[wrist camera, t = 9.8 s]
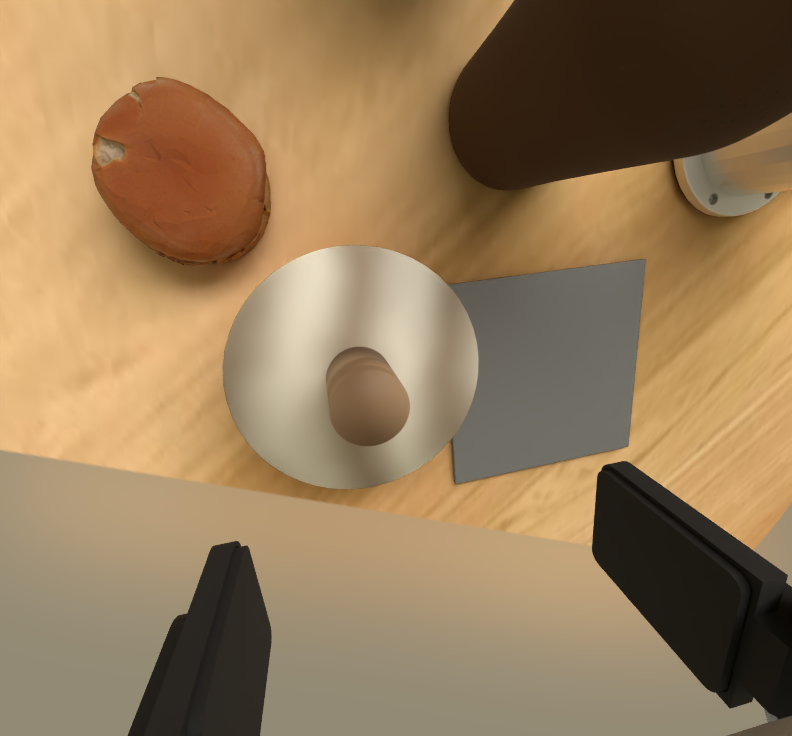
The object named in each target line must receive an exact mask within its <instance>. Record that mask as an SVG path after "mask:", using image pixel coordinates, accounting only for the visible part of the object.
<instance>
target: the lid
mask: <svg viewBox="0 0 792 736" xmlns="http://www.w3.org/2000/svg"><path fill="white" fill-rule="evenodd" d="M478 360H479V357H478V348H477V341H476V337H475V333H474V329H473V326H472V324H471V321H470V319H469V316H468V314H467V312H466V310H465V308H464V306H463V305H462V303H461V301H460V299H459V298H458V297H457V296H456V294H455V293H454V292H453V290H452V289H451V288H450V287H449V286H448V285H447V284H446V283H445V282H444V281H443V280H442V279H441V278H440V277H439V276H438V275H437V274H436V273H434V272H433V271H432V270H430V269H429V268H428V267H426V266H425V265H423V264H422V263H420V262H418V261H416V260H414V259H413V258H411V257H408V256H406V255H403V254H401V253H398V252H395V251H392V250H388V249H384V248H380V247H374V246H363V245H348V246H336V247H330V248H325V249H320V250H317V251H314V252H311V253H308V254H305V255H303V256H301V257H299V258H296V259H294V260H292V261H290V262H288V263H287V264H285V265H284V266H282V267H281V268H279V269H278V270H276V271H275V272H273V273H272V274H271V275H270V276H268V277H267V278H266V279H265V280H264V281H263V282H262V283H261V284H260V285H259V286H257V288H256V289H255V290H254V291H253V292H252V294H251V295H250V296H249V297H248V299H247V300H246V301H245V303H244V304H243V306H242V308H241V309H240V311H239V312H238V314H237V316H236V318H235V320H234V323H233V325H232V327H231V330H230V332H229V335H228V339H227V343H226V347H225V351H224V360H223V385H224V390H225V395H226V401H227V404H228V407H229V410H230V412H231V415H232V418H233V420H234V422H235V424H236V425H237V427H238V429H239V431H240V433H241V434H242V435H243V437H244V438H245V440H246V441H247V443H248V444H249V445H250V446H251V447H252V448H253V449H254V450H255V452H256V453H257V454H258V455H259V456H260V457H262V458H263V459H264V460H265V461H266V462H268V463H269V464H270V465H271V466H273V467H274V468H276V469H278V470H279V471H281V472H282V473H284V474H286V475H288V476H290V477H292V478H295V479H297V480H299V481H302V482H305V483H308V484H311V485H315V486H320V487H325V488H333V489H361V488H367V487H373V486H378V485H381V484H385V483H389V482H391V481H394V480H396V479H399V478H401V477H404V476H406V475H408V474H409V473H411V472H413V471H415V470H417V469H418V468H420V467H421V466H423V465H424V464H426V463H427V462H429V461H430V460H431V459H432V458H433V457H434V456H436V455H437V454H438V453H439V452H440V451H441V450H442V449H443V448H444V447H445V446H446V445H447V444H448V443H449V441H450V440H451V439H452V438H453V436H454V435H455V434H456V432H457V431H458V429H459V428H460V426H461V424H462V423H463V421H464V419H465V417H466V415H467V413H468V411H469V408H470V406H471V403H472V400H473V397H474V393H475V390H476V385H477V378H478Z"/></svg>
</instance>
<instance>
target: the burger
mask: <svg viewBox="0 0 792 736" xmlns="http://www.w3.org/2000/svg"><path fill="white" fill-rule="evenodd" d="M156 78H157V80H153V81H149V82H144V83H139V84H137V85H136V86H134V87H132V92H131V93H128V94H126V95H124V96H123V97H122V98H120V99H119V100H117V101H116V102H115V103H114V104H113V105H112V106H111V107H110V108H109V109H108V111H107V112H106V113H105V114H104V115H103V116H102V117H101V118H100V121H99V123H98V126H97V129H96V131H95V135H94V140H93V160H92V172H93V177H94V181H95V185H96V187H97V189H98V191H99V193H100V195H101V197H102V198H103V200H104V201H105V203H106V204H107V206H108V207H109V209H110V210H111V211H112V213H113V214H114V216H115V217H116V218H117V219H118V220H119V221H120V223H121V224H123V225H124V226H125V227H126V228H127V229H128V230H129V231H130V232H131V233H132V234H133V235H134V236H136V237H137V238H138V239H140V240H141V241H142V242H144V243H145V244H147V245H148V246H149V247H150V248H151V249H153V250H155V251H156V252H157V253H158V254H159V255H161V256H166V257H168V258H169V259H171V260H172V261H177V262H178V263H180V264H182V265H184V263H185V264H188V265H203V264H206V263H226V262H230V261H233V260H235V259H237V258H239V257H241V256H243V255H244V254H246V253H247V252H248V251H250V250H251V249H252V247H254V246H255V245H256V243H257V242H258V241H259V240H260V238H261V237H262V235H263V233H264V230H265V228H266V226H267V223H268V219H269V216H270V208H271V201H270V185H269V179H268V176H267V173H266V162H265V154H264V151H263V149H262V147H261V145H260V144H259V142H258V140H257V138H256V137H255V136H254V134H253V133H252V132H251V131H250V130H249V129H248V128H247V127H246V126H244V125H243V124H242V123H241V122H240V121H239V120H238V119H237V118H236V117H235V116H234V115H233V114H232V113H231V112H230V111H229V110H228V109H227V108H225V107H224V106H223V105H221V104H220V103H218V102H217V101H215V100H214V99H213V98H212V97H210V96H209V95H208V94H206V93H204V92H202V91H200V90H198V89H196V88H194V87H192V86H190V85H188V84H185V83H183V82H180V81H177V80H174V79H169V78H163V77H156Z"/></svg>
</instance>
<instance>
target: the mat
mask: <svg viewBox="0 0 792 736" xmlns="http://www.w3.org/2000/svg"><path fill="white" fill-rule="evenodd" d="M645 264H646V260H645V259H640V260H633V261H625V262H617V263H610V264H602V265H594V266H587V267H579V268H571V269H564V270H556V271H548V272H541V273H533V274H525V275H518V276H510V277H502V278H495V279H487V280H479V281H472V282H464V283H456V284H449V285H448V286H449V287H450V288H451V289H452V290H453V292H454V293H455V294H456V296H457V297H458V298H459V299H460V301H461V303H462V305H463V306H464V308H465V310H466V312H467V314H468V316H469V319H470V321H471V324H472V326H473V329H474V333H475V337H476V341H477V348H478V357H479V360H478V378H477V385H476V390H475V393H474V397H473V400H472V403H471V406H470V408H469V411H468V413H467V415H466V417H465V419H464V421H463V423H462V424H461V426H460V428H459V429H458V431H457V432H456V434H455V435H454V436H453V438H452V454H453V469H454V481H455V483H456V484H459V483H463V482H468V481H473V480H477V479H482V478H486V477H491V476H496V475H500V474H505V473H509V472H514V471H519V470H523V469H528V468H532V467H537V466H542V465H546V464H551V463H555V462H560V461H564V460H569V459H574V458H578V457H583V456H587V455H592V454H597V453H601V452H606V451H610V450H615V449H620V448H624V447H628V445H629V434H630V424H631V413H632V402H633V392H634V381H635V370H636V360H637V349H638V338H639V328H640V317H641V306H642V296H643V285H644V274H645Z"/></svg>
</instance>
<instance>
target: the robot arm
mask: <svg viewBox="0 0 792 736" xmlns="http://www.w3.org/2000/svg"><path fill="white" fill-rule="evenodd" d="M673 161H674V167H675V173H676V177H677V180H678V183H679V185H680V188H681V190H682V192H683V193H684V195H685V197H686V198H687V200H688V201H689V202H690V203H691V204H692V205H693V206H694V207H695V208H697V209H698V210H700V211H702V212H703V213H705V214H708V215H712V216H716V217H730V216H739V215H744V214H747V213H750V212H753V211H756V210H757V209H759V208H761V207H762V206H764V205H766V204H767V203H769V202H770V201H771V200H772V199H773V198H775V197H776V196H777V195H778V194H779V193H780V192H781V191H787V190H792V113H790V114H789V115H787V116H785V117H784V118H782V119H780V120H778V121H777V122H775V123H773V124H771V125H770V126H768V127H766V128H764V129H762V130H761V131H759V132H757V133H755V134H753V135H751V136H749V137H747V138H745V139H743V140H741V141H739V142H736V143H734V144H731V145H729V146H726V147H724V148H721V149H718V150H715V151H712V152H708V153H705V154H700V155H696V156H692V157H687V158H681V159H675V160H673ZM592 552H593V555H594V558H595V560H596V561H597V563H598V564H599V565H600V567H601V568H602V569H603V570H604V571H605V572H606V573H607V575H608V576H609V577H610V578H611V579H612V580H613V582H614V583H615V584H616V585H617V586H618V587H619V588H620V590H621V591H622V592H623V593H624V594H625V595H626V597H627V598H628V599H629V600H630V601H631V602H632V603H633V605H634V606H635V607H636V608H637V609H638V610H639V611H640V613H641V614H642V615H643V616H644V617H645V618H646V620H647V621H648V622H649V623H650V624H651V625H652V626H653V628H654V629H655V630H656V631H657V632H658V633H659V635H660V636H661V637H662V638H663V639H664V640H665V641H666V643H667V644H668V645H669V646H670V647H671V649H672V650H673V651H674V652H675V653H676V654H677V655H678V657H679V658H680V659H681V660H682V661H683V662H684V664H685V665H686V666H687V667H688V668H689V669H690V670H691V672H692V673H693V674H694V675H695V676H696V677H697V678H698V680H699V681H700V682H701V683H702V684H703V685H704V686H705V687H706V688H707V689H708V690H710V691H712V692H716V693H717V694H718V695H719V697H720V698H721V699H722V700H723V701H724V702H725V703H726V704H727V706H728V707H729V708H734V707H737V706H740V705H743V704H746V703H749V702H752V700H753V697H754V698H755V699H756V700H757V701H758V702H759V703H760V704H761V706H762V707H763V708H764V709H765V713H766V717H767V721H768V723H766V724H762V725H759V726H756V727H753V728H750V729H747V730H743V731H741V732H737V733H734V734H731V735H728V736H792V587H791V586H790V585H788V584H787V583H786V580H787V577H788V575H787V574H785V573H784V572H782V571H781V570H780V569H778V568H777V567H775V566H774V565H772V564H771V563H770V562H768V561H767V560H766V559H764V558H763V557H761V556H760V555H759V554H757V553H756V552H754V551H753V550H752V549H750V548H749V547H747V546H746V545H745V544H743V543H742V542H740V541H739V540H738V539H736V538H735V537H733V536H732V535H731V534H729V533H728V532H726V531H725V530H723V529H722V528H721V527H719V526H718V525H716V524H715V523H714V522H712V521H711V520H709V519H708V518H707V517H705V516H704V515H702V514H701V513H700V512H698V511H697V510H695V509H694V508H693V507H691V506H690V505H688V504H687V503H685V502H684V501H683V500H681V499H680V498H678V497H677V496H676V495H674V494H673V493H671V492H670V491H669V490H667V489H666V488H664V487H663V486H662V485H660V484H659V483H657V482H656V481H654V480H653V479H652V478H650V477H649V476H647V475H646V474H645V473H643V472H642V471H640V470H639V469H638V468H636V467H635V466H633V465H632V464H631V463H629V462H627V461H622V462H617V463H612V464H607V465H604V466H603V468H602V470H601V472H599V473H598V476H597V489H596V502H595V515H594V529H593V542H592ZM270 649H271V626H270V622H269V619H268V615H267V611H266V608H265V604H264V601H263V597H262V594H261V590H260V586H259V583H258V579H257V575H256V572H255V569H254V565H253V561H252V558H251V554H250V550H249V548H248V546H242V547H241V545H240V543H239V542H238V541H235V542H230V543H225V544H220V545H215V546H213V547H212V548H211V550H210V552H209V555H208V558H207V561H206V564H205V566H204V569H203V572H202V575H201V577H200V580H199V583H198V586H197V589H196V591H195V594H194V597H193V600H192V602H191V605H190V608H189V611H188V613H187V614H183V615H179V616H177V617H176V618H175V619H174V621H173V623H172V625H171V627H170V629H169V632H168V634H167V637H166V639H165V642H164V644H163V647H162V649H161V652H160V655H159V657H158V660H157V662H156V665H155V667H154V670H153V672H152V675H151V678H150V680H149V683H148V685H147V688H146V690H145V693H144V695H143V698H142V700H141V703H140V706H139V708H138V711H137V713H136V716H135V718H134V721H133V723H132V726H131V728H130V731H129V734H128V736H260V729H261V722H262V714H263V706H264V698H265V689H266V681H267V673H268V665H269V657H270Z"/></svg>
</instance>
